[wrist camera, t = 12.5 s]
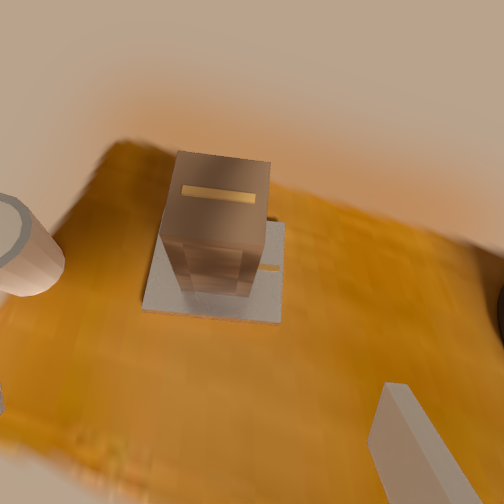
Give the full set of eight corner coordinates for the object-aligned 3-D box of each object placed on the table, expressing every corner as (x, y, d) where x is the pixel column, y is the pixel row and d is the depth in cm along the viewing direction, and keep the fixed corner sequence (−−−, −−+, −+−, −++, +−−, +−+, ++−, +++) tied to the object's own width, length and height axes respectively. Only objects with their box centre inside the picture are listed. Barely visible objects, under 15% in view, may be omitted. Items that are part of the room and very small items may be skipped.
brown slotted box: (253, 237, 30) (271, 160, 20) (248, 297, 28) (265, 244, 18) (191, 230, 30) (177, 148, 20) (181, 290, 28) (158, 231, 17)
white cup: (29, 222, 31) (-21, 177, 24) (88, 254, 30) (52, 216, 23) (-28, 280, 28) (-102, 248, 21) (35, 317, 27) (-22, 295, 21)
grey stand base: (282, 229, 33) (296, 194, 27) (277, 326, 29) (292, 309, 23) (166, 216, 32) (154, 177, 26) (145, 312, 28) (125, 292, 22)
